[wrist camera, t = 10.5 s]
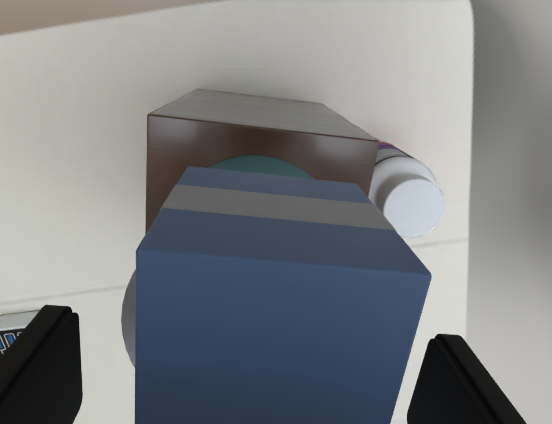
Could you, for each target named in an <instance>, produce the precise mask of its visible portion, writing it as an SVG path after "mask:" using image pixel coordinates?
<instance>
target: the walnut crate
mask: <svg viewBox="0 0 552 424" xmlns="http://www.w3.org/2000/svg"><path fill="white" fill-rule="evenodd" d="M379 143H380V142H379V140H377V139H376V138H374V137H372V136H371V135H369V134H368V133H366V132H365V131H363V130H362V129H360V128H359V127H357V126H355V125H354V124H352V123H351V122H349V121H348V120H346V119H345V118H343V117H342V116H340V115H339V114H337V113H335V112H334V111H332V110H331V109H329V108H328V107H326V106H325V105H323V104H319V103H311V102H303V101H294V100H286V99H278V98H270V97H262V96H253V95H245V94H237V93H229V92H221V91H213V90H204V89H196V90H194V91H192V92H190V93H188V94H186V95H184V96H182V97H180V98H179V99H177V100H175V101H173V102H171V103H169V104H167V105H165V106H163V107H161V108H159V109H157V110H155V111H153V112H151V113H149V114H148V115H147V171H146V233H147V232H148V230H149V228H150V227H151V225H152V224H153V222H154V220H155V219H156V217H157V215H158V214H159V212H160V209H161V207H162V206H163V204H164V203H165V201H166V199H167V198H168V196H169V195H170V193H171V191H172V190H173V188H174V187H175V185H177V183H178V182H179V180H180V178H181V177H182V175H183V173H184V172H185V170H186V169H187V167H188V166H194V167H203V168H209V167H211V166H213V165H215V164H217V163H218V162H221V161H224V160H227V159H230V158H234V157H239V156H248V155H261V156H269V157H274V158H278V159H281V160H284V161H287V162H289V163H291V164H293V165H295V166H297V167H299V168H300V169H302V170H303V171H305V172H306V173H307V174H309V175H310V176H311V177H312V178H313V179H317V180H327V181H336V182H346V183H355V184H357V185H358V186H359V187H360V188H361V190H362V191H363V192H364V193H365V194H366V196H367V197H368V196H369V191H370V186H371V181H372V176H373V172H374V167H375V162H376V157H377V152H378V148H379Z"/></svg>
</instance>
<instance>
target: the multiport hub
mask: <svg viewBox="0 0 552 424" xmlns="http://www.w3.org/2000/svg"><path fill="white" fill-rule="evenodd" d="M38 312H39V311H33V312H24V313H16V314H8V315H0V357H1V356H2V354H3V353H4V352H5V351H6V350H7V349H8V347H9V346H10V345H11V344H12V343H13V342H14V340H15V339H16V338H17V337H18V336H19V334H20V333H21V332H22V331H23V330H24V329H25V327H26V326H27V325H28V324H29V323H30V322H31V320H32V319H33V318H34V317H35V316H36V314H37V313H38Z"/></svg>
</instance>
